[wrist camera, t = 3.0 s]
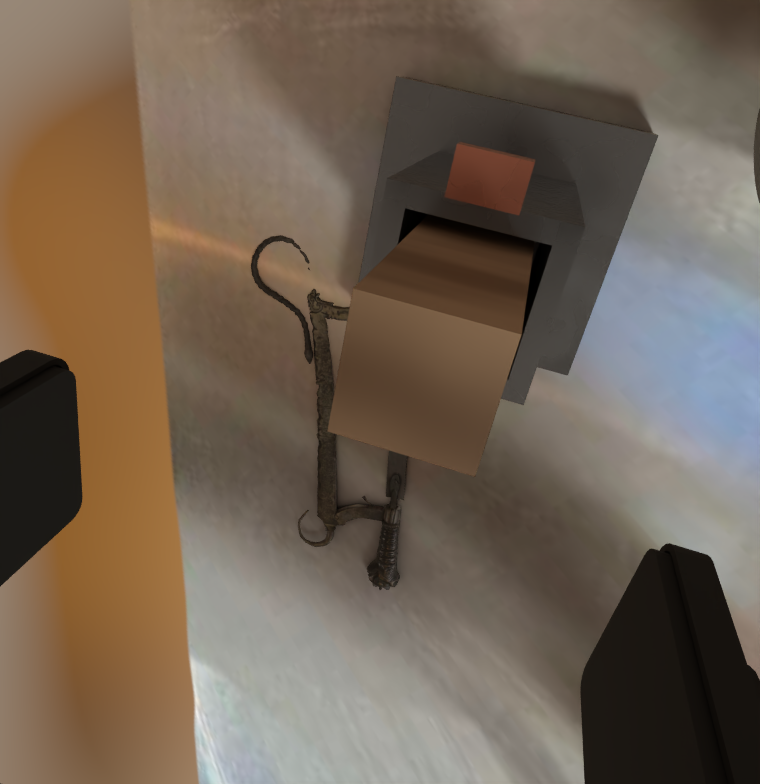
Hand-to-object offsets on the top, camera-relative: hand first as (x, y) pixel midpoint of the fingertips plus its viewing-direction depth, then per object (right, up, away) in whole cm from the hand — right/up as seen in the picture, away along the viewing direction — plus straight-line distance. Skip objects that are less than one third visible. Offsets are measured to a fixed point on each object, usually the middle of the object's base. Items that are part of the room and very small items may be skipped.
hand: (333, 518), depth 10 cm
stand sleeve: (+6, +10, +22) cm, 25 cm away
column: (+6, +10, +21) cm, 23 cm away
